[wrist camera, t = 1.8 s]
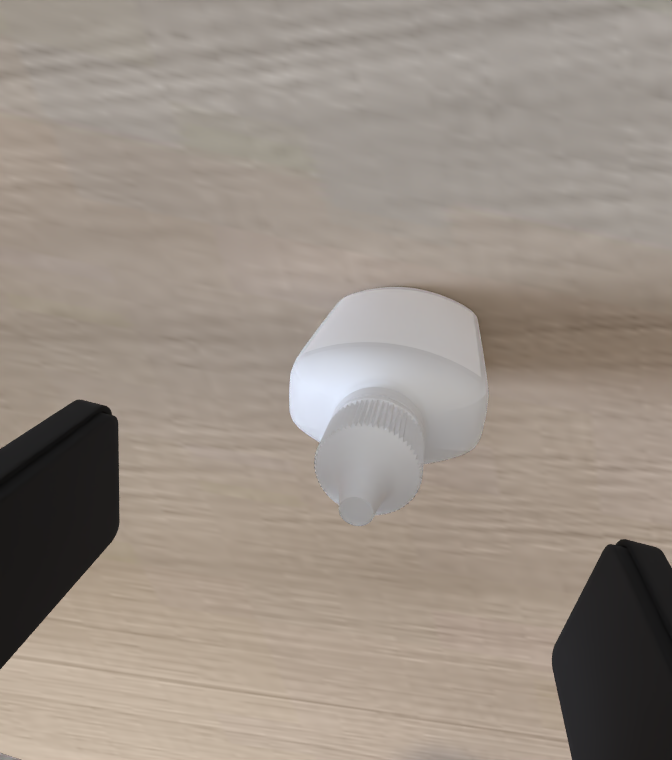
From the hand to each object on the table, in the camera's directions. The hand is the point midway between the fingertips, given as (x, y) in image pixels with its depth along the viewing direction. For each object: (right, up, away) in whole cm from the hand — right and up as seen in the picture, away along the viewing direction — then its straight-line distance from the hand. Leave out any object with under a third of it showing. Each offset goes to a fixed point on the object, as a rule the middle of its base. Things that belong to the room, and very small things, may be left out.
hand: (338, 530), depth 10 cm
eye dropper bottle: (+3, +5, +11) cm, 13 cm away
